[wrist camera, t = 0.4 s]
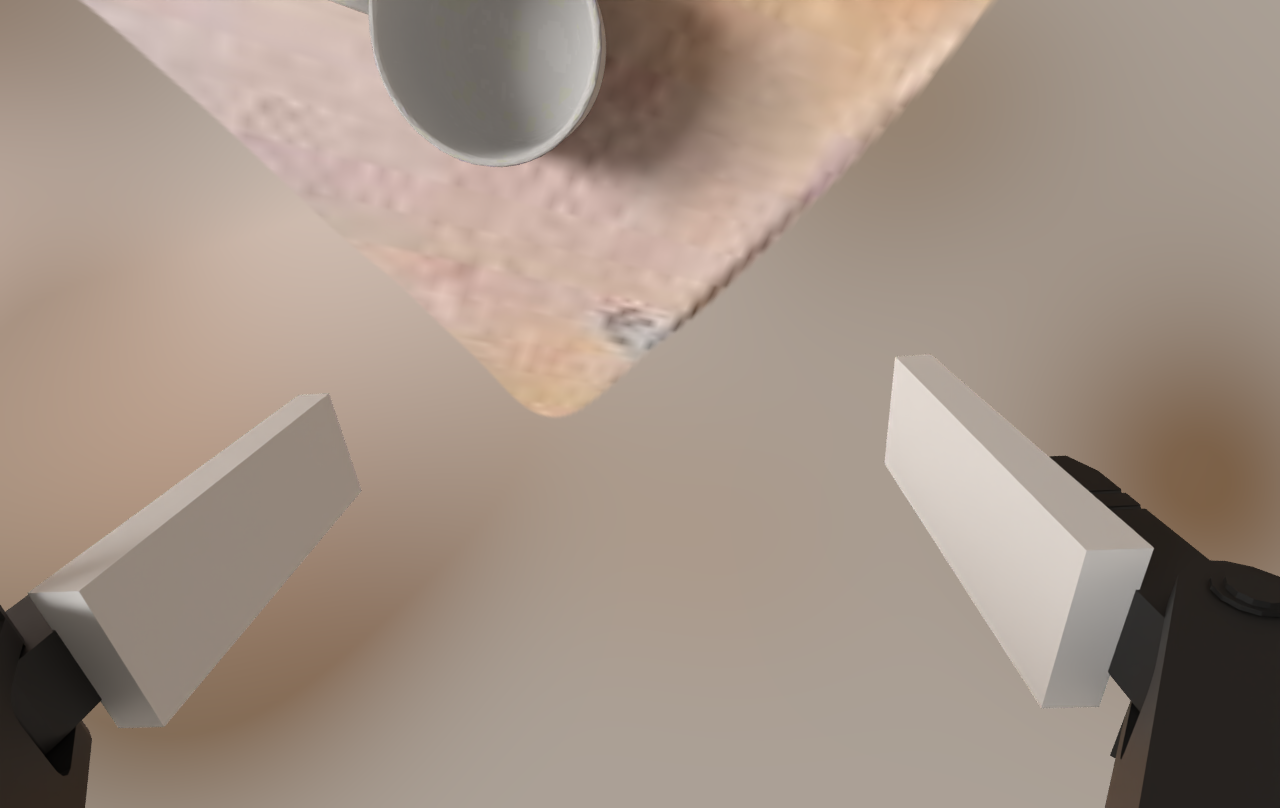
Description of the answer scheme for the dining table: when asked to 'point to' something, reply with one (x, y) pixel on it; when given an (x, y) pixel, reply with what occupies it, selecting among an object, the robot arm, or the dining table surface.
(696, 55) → the dining table surface
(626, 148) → the dining table surface
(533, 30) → the teacup
